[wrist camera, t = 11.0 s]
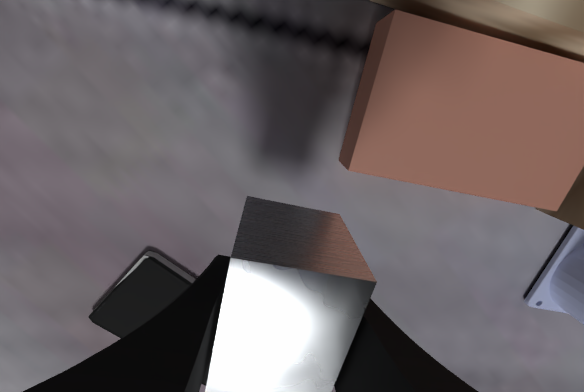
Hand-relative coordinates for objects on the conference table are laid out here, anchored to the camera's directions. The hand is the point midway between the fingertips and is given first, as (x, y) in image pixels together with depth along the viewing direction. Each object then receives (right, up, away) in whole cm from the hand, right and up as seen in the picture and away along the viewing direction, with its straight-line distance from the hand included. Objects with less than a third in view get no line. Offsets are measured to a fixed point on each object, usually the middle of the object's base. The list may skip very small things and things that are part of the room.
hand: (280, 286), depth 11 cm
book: (+11, +9, +7) cm, 16 cm away
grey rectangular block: (0, 0, +2) cm, 2 cm away
